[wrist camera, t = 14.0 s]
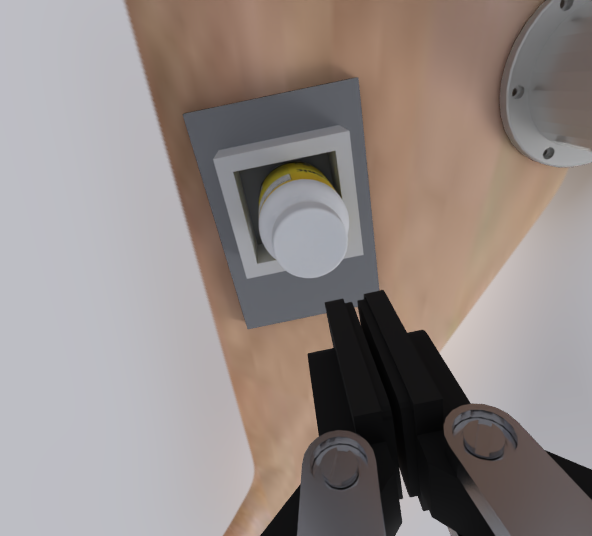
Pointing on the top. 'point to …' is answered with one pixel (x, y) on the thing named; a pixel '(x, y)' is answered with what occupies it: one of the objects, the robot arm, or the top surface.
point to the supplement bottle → (302, 220)
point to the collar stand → (254, 168)
